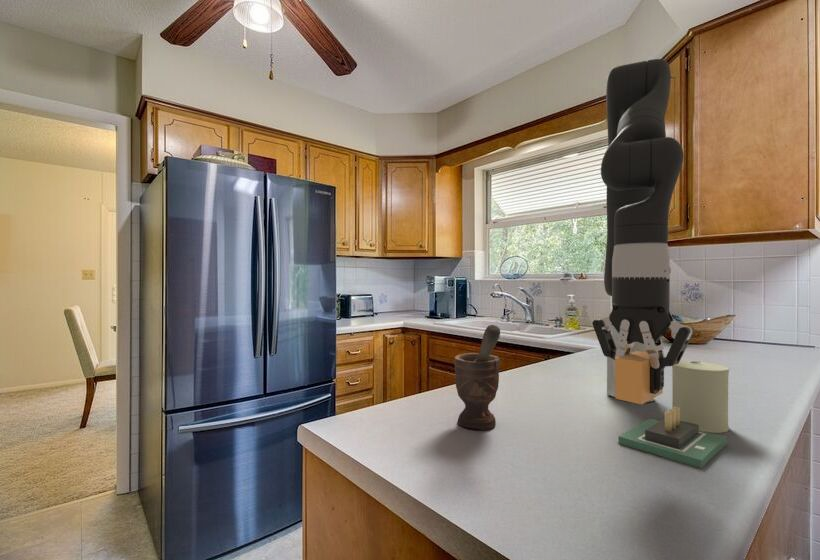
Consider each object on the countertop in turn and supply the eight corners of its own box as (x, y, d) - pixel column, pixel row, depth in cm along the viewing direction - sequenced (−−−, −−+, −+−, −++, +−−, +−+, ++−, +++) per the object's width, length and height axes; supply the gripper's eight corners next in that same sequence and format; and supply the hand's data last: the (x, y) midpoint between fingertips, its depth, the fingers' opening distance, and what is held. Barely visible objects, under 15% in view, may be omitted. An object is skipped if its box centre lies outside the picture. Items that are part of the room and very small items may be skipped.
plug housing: (615, 398, 60) (615, 358, 60) (637, 388, 65) (637, 351, 65) (641, 404, 57) (641, 361, 57) (662, 393, 62) (662, 354, 62)
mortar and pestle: (521, 431, 75) (522, 323, 75) (489, 441, 70) (490, 326, 70) (476, 414, 85) (476, 318, 85) (445, 422, 80) (445, 320, 80)
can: (718, 419, 82) (718, 360, 82) (738, 435, 74) (738, 369, 74) (665, 414, 85) (666, 357, 85) (678, 429, 77) (679, 365, 77)
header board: (618, 443, 70) (618, 409, 70) (649, 424, 79) (650, 395, 79) (701, 468, 61) (701, 429, 61) (726, 444, 70) (726, 410, 70)
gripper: (581, 275, 64) (581, 384, 64) (686, 274, 53) (685, 406, 53) (603, 275, 69) (603, 376, 69) (704, 275, 58) (703, 395, 58)
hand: (639, 389), depth 61 cm, fingers closed on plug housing, 3 cm apart
